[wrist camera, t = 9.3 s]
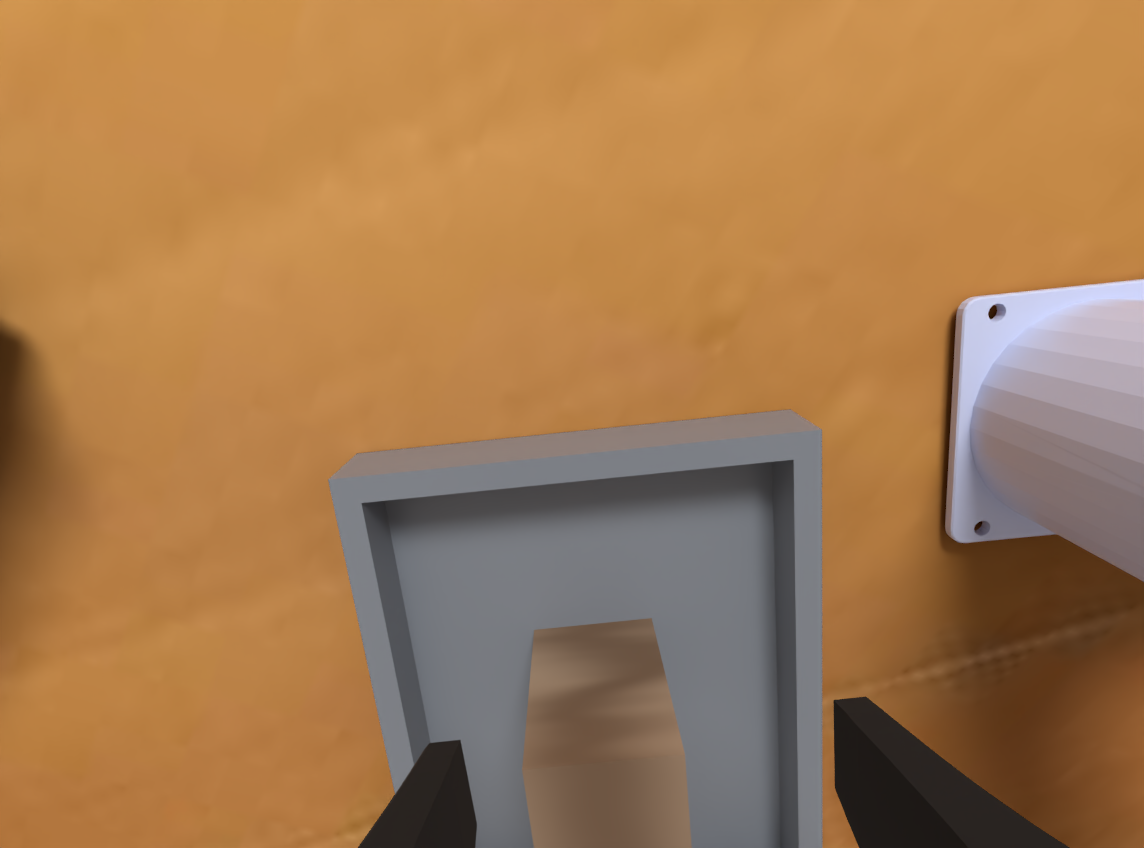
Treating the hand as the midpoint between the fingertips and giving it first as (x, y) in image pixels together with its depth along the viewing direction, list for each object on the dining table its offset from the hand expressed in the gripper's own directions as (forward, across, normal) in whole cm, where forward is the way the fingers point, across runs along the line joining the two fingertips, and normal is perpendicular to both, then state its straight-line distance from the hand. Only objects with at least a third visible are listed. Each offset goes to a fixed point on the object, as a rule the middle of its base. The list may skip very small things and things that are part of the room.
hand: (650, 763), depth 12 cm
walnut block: (+9, +1, +4) cm, 10 cm away
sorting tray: (+9, +1, +5) cm, 11 cm away
